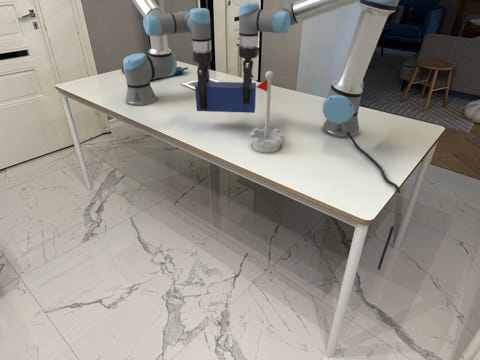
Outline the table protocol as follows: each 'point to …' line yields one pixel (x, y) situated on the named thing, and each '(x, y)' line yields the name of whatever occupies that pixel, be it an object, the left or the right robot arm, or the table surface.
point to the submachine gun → (179, 70)
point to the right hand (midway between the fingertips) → (247, 98)
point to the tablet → (194, 83)
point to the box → (227, 97)
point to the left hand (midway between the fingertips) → (205, 105)
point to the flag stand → (266, 124)
